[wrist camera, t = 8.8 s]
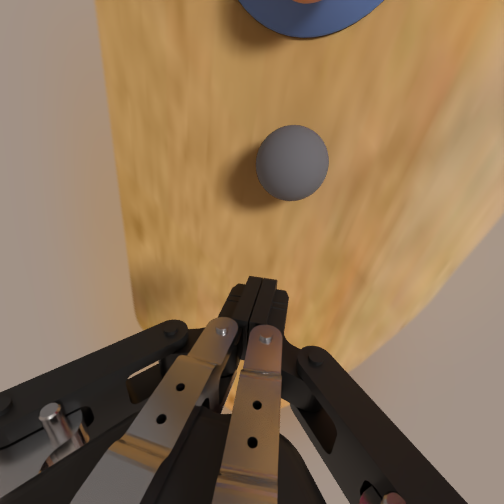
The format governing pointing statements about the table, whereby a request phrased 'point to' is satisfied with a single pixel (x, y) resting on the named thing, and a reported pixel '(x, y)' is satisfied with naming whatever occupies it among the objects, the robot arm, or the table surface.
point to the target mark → (308, 15)
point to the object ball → (306, 1)
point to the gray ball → (292, 162)
